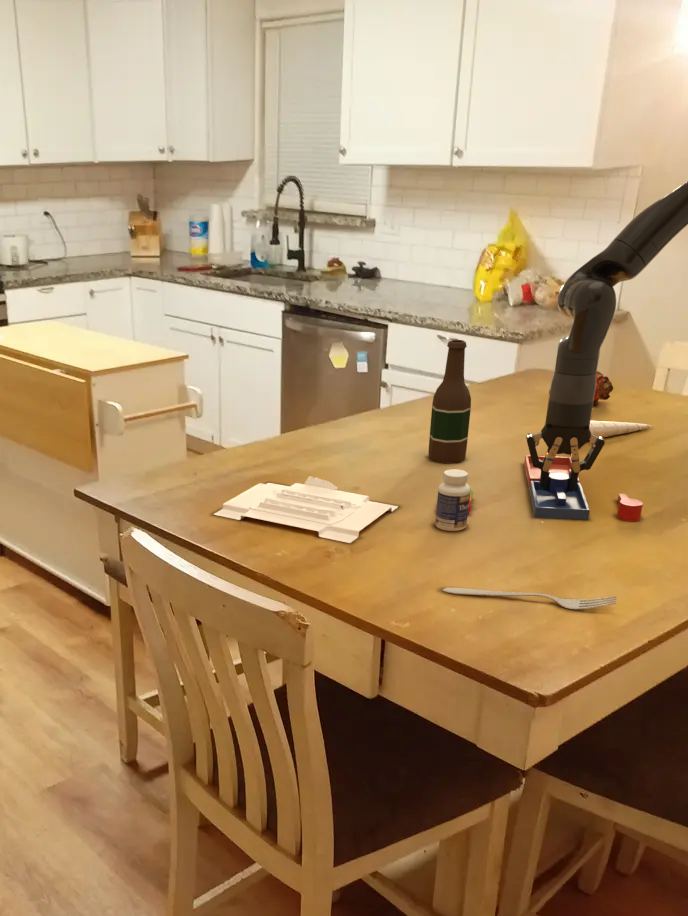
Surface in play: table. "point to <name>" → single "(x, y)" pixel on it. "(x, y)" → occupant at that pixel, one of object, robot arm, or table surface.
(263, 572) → the table surface
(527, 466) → the red tray
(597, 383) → the dragon fruit
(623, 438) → the table surface
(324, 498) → the tray
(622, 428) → the unicorn horn
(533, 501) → the blue tray
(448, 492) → the pill bottle
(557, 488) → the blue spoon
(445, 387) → the beer bottle
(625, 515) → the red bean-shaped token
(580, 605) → the fork
